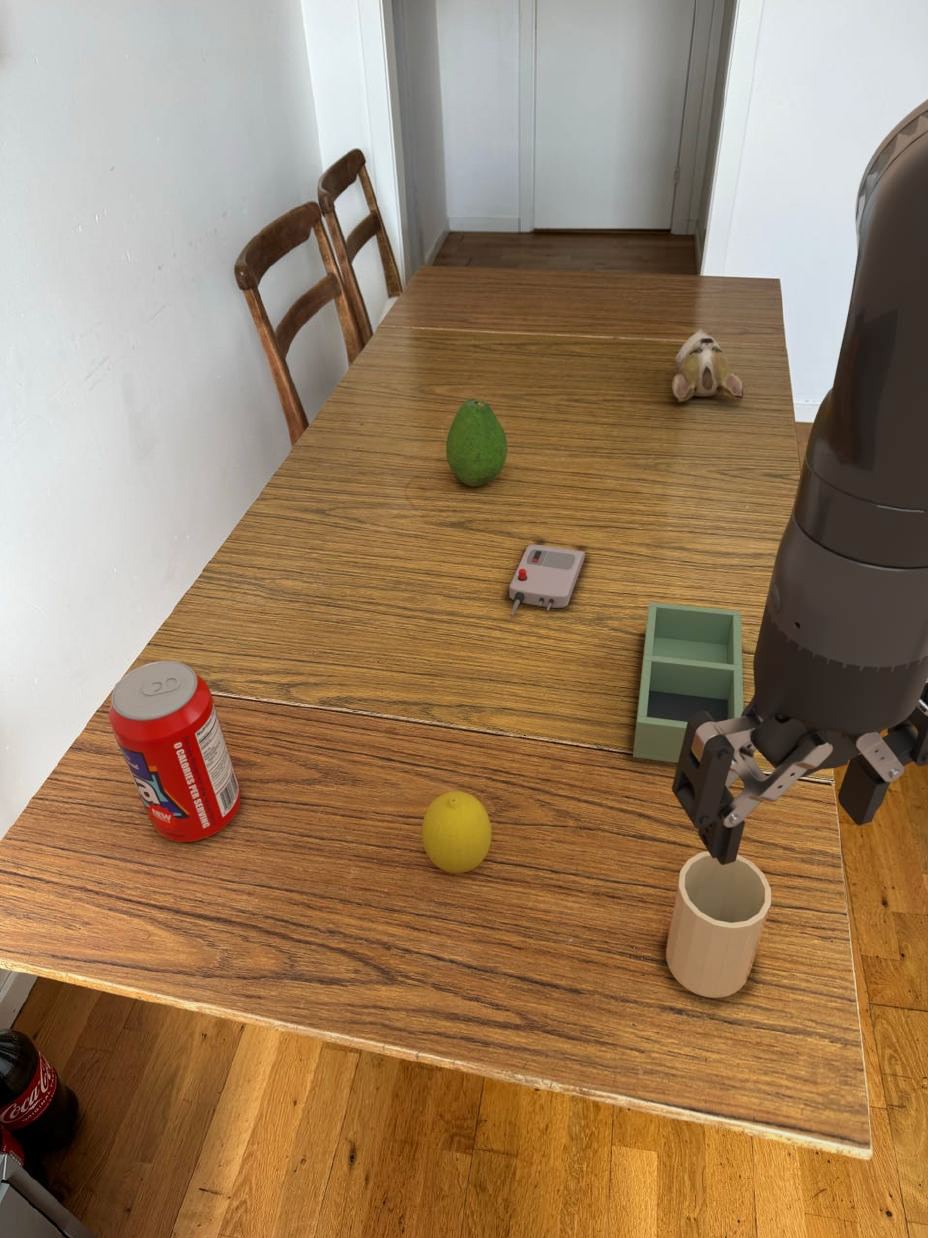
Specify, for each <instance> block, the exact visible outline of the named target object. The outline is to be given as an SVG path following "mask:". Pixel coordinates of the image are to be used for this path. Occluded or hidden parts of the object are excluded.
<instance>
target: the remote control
mask: <svg viewBox="0 0 928 1238" xmlns="http://www.w3.org/2000/svg"><path fill="white" fill-rule="evenodd" d="M522 555H523V556H522V557H521V559H520V562H519V564H518V566H517V568H516V571H515V573H514V575H513V577H512V579H511V581H510V584H509V585H508V586H509V587H508V588H509V589H508V590H509V598H510V599H511V600H513V602H514V603H513V605H512V609H511V611H510V615H509V616H510V617H514V615H515V612H516V611H517V610H518V608H519V605H520V604H522V603H523V604H526V605H533V606H538V607H545V608H546V612H549V611H550V609H551V608H554V609H557V608H566V607H567V606H568V605H569V602H570V600H571V597H572V593H573V591H574V588H575V585H576V583H577V580H578V577H579V575H580V573H581V568H582V566H583V564H584V561H585V559H586V552H585V551H582V550H576V549H571V548H564V547H557V546H550V545H541V544H535V543H533V544H532V543H531V544H529V545H528V546H527V547H526V549H525V551H524V553H523V554H522Z"/></svg>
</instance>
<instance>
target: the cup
mask: <svg viewBox="0 0 928 1238" xmlns="http://www.w3.org/2000/svg"><path fill="white" fill-rule="evenodd" d="M673 901H674V902H673V907H672V912H671V917H670V922H669V928H668V934H667V938H666V939H667V940H666V947H665V960H666V963H667V966H668V969H669V971H670V972H671V974H672V975H673V977H674V979H676V981H677V982H678V983H679V984H680V985H681V986H683V987H684V988H685V989H686V990H688V991H690V992H691V993H693V994H695V995H698V996H702V997H704V998H713V999H714V998H715V999H718V998H725V997H728V996H732V995H733V994H735V993H737V992H738V991H740V990H741V989H742V988H743V986H745V984H746V982H747V980H748V978H749V975H750V973H751V971H752V967H753V964H754V961H755V957H756V955H757V953H758V952H757V951H758V948H759V946H760V941H761V938H762V935H763V931H764V929H765V925H766V921H767V918H768V916H769V912H770V908H771V905H772V888H771V886H770V884H769V882H768V880H767V877H766V875H765V874H764V872H763V871H762V870H761V869H760V868H758V866H757V865H756V864H754V863H753V861H751V860H749V859H748V858H745V857H743V856H742V855H740V854H737V858H736V861H735V862H732V863H729V864H725V865H721V864H720V863H719V861H718V860H717V858H714V859H713V858H712V857H711V855H710V853H709V852H708V850H707V851H701V852H699V853H697V854H695V855H693V856H692V857H690V858H688V859H687V860H686V862H685V863H684V865H683V866H682V868H681V869H680V871H679V874H678V880H677V885H676V890H675V896H674V900H673Z"/></svg>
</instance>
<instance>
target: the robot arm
mask: <svg viewBox="0 0 928 1238" xmlns="http://www.w3.org/2000/svg"><path fill="white" fill-rule="evenodd" d="M854 214H855V215H854V222H855V235H856V252H857V253H856V254H857V255H856V263H855V269H854V275H853V281H852V286H851V287H852V288H851V294H850V298H849V306H848V311H847V315H846V321H845V326H844V330H843V336H842V341H841V345H840V348H839V349H840V350H839V355H838V359H837V364H836V370H835V372H834V378H833V384H832V387H831V388H830V389H829V390H828V391H827V393H826V394H825V396H824V398H823V399H822V401H821V403H820V405H819V406H818V409H817V412H816V415H815V417H814V420H813V423H812V426H811V429H810V433H809V437H808V440H807V443H806V448H805V453H804V457H803V461H802V466H801V471H800V475H799V479H798V482H797V483H798V484H797V488H796V493H795V498H794V502H793V505H792V509H791V513H790V516H789V518H788V521H787V523H786V526H785V527H784V531H783V533H782V536H781V539H780V540H779V544H778V548H777V551H776V555H775V558H774V562H773V567H772V571H771V577H770V582H769V587H768V590H767V594H766V600H765V604H764V609H763V614H762V618H761V623H760V628H759V631H758V636H757V641H756V646H755V649H754V653H753V659H752V660H753V661H752V670H753V672H752V673H753V684H754V693H753V696H752V698H751V700H750V701H749V703H748V704H747V705H746V706H745V708H743V712H742V714H741V717H739V718H734V719H729V720H725V721H720V722H715V721H714V720H713V718H712V717H711V715H710V714H709V713H708V712H707V711H700V712H697V713H695V714H694V715H692V716H691V717H690V719H689V720H688V723H687V727H686V731H685V735H684V739H683V744H682V748H681V752H680V756H679V760H678V763H676V769H675V773H674V777H673V781H672V785H671V791H672V793H673V795H674V796H675V798H676V799H677V801H678V802H679V804H680V806H681V808H682V809H683V811H684V812H685V814H686V815H687V817H688V818H689V821H690V822H691V824H692V826H693V827H694V828H696V829H698V833H697V835H698V837H699V839H700V840H701V843H702V844H703V845H704V847H705V849H706V850H707V851H708V852H709V853H710V855H711V857H712V858H713V859H714V858H717V860H718V861H719V863H720V864H721V865H725V864H729V863H732V862H735V861H736V858H737V854H738V853H739V849H740V845H741V841H742V837H743V833H744V830H745V827H746V826H745V825H746V822H745V819H746V818H747V817H749V815H750V814H752V812H753V811H755V810H756V809H757V808H758V806H760V805H761V804H762V803H763V802H766V803H774V802H777V800H778V799H780V798H781V796H783V795H784V794H785V793H786V792H787V791H788V790H789V789H790V788H791V787H792V786H793V785H794V784H795V783H796V782H797V781H798V780H800V778H804V777H808V776H810V775H812V774H814V773H816V772H819V771H821V770H829V769H836V768H840V767H845V766H847V768H846V771H845V773H844V776H843V778H842V782H841V785H840V788H839V791H838V794H837V800H838V803H839V804H840V806H841V808H842V809H843V810H844V811H845V812H846V814H847V815H848V816H849V817H850V819H851V820H852V821H853V822H854V824H855V825H857V826H863V825H865V824H869V823H872V822H873V820H874V818H875V815H876V813H877V811H878V810H879V809H880V807H881V806H882V805H883V802H884V799H885V797H886V795H887V792H888V790H889V787H890V784H891V783H892V782H894V781H896V780H898V779H899V778H900V777H902V776H903V774H904V773H905V766H907V765H909V764H911V763H914V764H915V765H916V766H918V767H924V766H926V765H928V98H927V99H926V100H924V101H923V102H921V103H920V104H919V105H918V106H916V107H915V108H914V109H912V111H909V113H908V114H906V116H904V117H903V118H902V119H901V120H900V121H899V122H898V123H897V124H895V126H894V127H893V128H892V129H891V130H890V131H889V132H888V133H887V134H886V136H885V137H884V138H883V139H882V141H881V143H879V145H878V147H876V149H875V151H874V153H873V154H872V156H871V157H870V159H869V161H868V163H867V164H866V167H865V169H864V171H863V173H862V176H861V179H860V182H859V184H858V189H857V192H856V200H855V212H854ZM915 729H916V730H915ZM885 730H887V731H886V732H887V734H886V735H884V736H881V735H880V734H881V733H882V732H883V731H885ZM756 750H757V751H758V752H759V753H760V754H761V756H763V757H764V759H765V760H766V761H767V762H768V763H769V764H770V765H771V766H772V768H774V770H773V771H772V772H771V773H770V774H769V775H768V776H767V775H766V774H765V773H764V772H763V770H762V769H761V767H760V766H759V765H758V763H757V762H756V761H755V756H754V755H755V751H756ZM738 779H740V780H741V782H742V783H743V790H742V791H740V793H739V794H738V795H737V796H736V797H734V795H733V794H732V793H731V791H730V789H729V788H730V787H731V786H732V785H733V784H734V783H735V782H736V781H737V780H738ZM738 855H739V854H738Z"/></svg>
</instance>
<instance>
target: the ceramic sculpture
mask: <svg viewBox="0 0 928 1238" xmlns="http://www.w3.org/2000/svg"><path fill="white" fill-rule="evenodd" d="M675 366H676V368H677V370H678V372H677V373H676V374H675V375H674V376H673V377H672V378H671V384H670V387H671V388H670V389H671V392H672V393H671V394H672V396H673V397H672V398H673V399H674V400H676V401H677V402H678V403H683V402H686V401H688V400H691V399H692V398H693V397H712V396H715V395H717V394H718V393H721V396H722V397H723V398H724V399H726V400H730V401H736V402H737V401H738V402H742V401H743V400H744V382H743V380H741V376H740V375H739V374H737V373H736V372H734V371H732V370H731V368H730V363H729V360H728V357H727V356H726V354H725V353H724V351H723V350H722V349H721V346H720V345H719V343H718V342H717V341H716V340H715V339H714V337H712V336H711V335H709V334H707V333H706V332H705V331H704V330H703V329H702V328H699V329H697V330H696V331H695V333H694V334H693V335H691V336H690V337H688V338H687V340H686V341H685V342H684V343H683V345H682V347H681V348H680V350H679V352H678V353H677V354H676V355H675Z"/></svg>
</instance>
